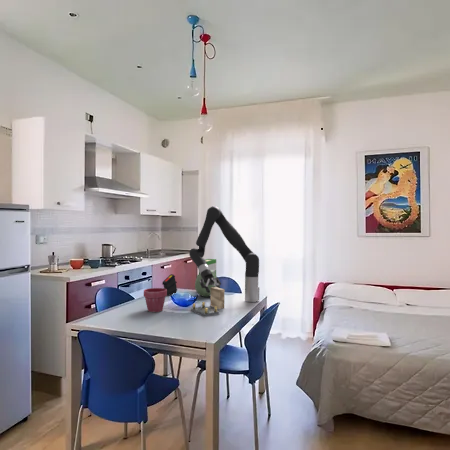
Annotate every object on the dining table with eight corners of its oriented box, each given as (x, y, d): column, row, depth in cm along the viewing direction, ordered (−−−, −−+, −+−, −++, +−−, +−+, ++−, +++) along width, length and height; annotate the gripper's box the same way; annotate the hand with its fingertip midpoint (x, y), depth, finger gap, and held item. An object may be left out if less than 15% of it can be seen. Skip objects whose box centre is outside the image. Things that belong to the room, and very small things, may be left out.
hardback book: (206, 292, 282) (207, 261, 282) (198, 291, 285) (198, 260, 285) (216, 288, 299) (216, 259, 298) (207, 287, 302) (208, 258, 301)
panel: (215, 305, 239) (215, 286, 239) (224, 308, 231) (224, 289, 231) (210, 305, 237) (210, 287, 237) (219, 308, 229) (219, 289, 229)
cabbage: (190, 297, 261) (190, 270, 261) (202, 293, 278) (203, 267, 278) (209, 299, 255) (209, 271, 254) (221, 295, 272) (221, 268, 271)
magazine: (179, 290, 277) (174, 274, 272) (169, 301, 267) (164, 284, 261) (176, 290, 279) (170, 273, 273) (165, 300, 269) (160, 283, 263)
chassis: (204, 308, 229) (204, 301, 229) (219, 314, 216) (219, 306, 216) (190, 310, 223) (190, 303, 223) (204, 316, 210) (205, 308, 210)
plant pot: (149, 307, 232) (149, 287, 232) (170, 308, 229) (170, 288, 229) (139, 312, 218) (139, 291, 218) (161, 314, 215) (161, 292, 215)
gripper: (198, 269, 240) (207, 289, 230) (216, 268, 248) (225, 287, 239) (194, 276, 244) (203, 296, 235) (211, 274, 252) (221, 294, 243)
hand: (214, 291), depth 237 cm, fingers open, 8 cm apart
